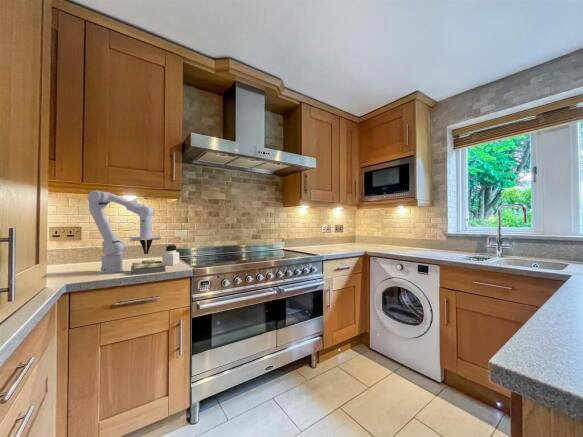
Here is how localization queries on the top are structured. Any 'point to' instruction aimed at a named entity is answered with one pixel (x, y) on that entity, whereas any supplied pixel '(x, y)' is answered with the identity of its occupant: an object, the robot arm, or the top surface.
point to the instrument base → (147, 270)
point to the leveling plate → (147, 264)
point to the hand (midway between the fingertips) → (146, 253)
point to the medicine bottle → (170, 255)
